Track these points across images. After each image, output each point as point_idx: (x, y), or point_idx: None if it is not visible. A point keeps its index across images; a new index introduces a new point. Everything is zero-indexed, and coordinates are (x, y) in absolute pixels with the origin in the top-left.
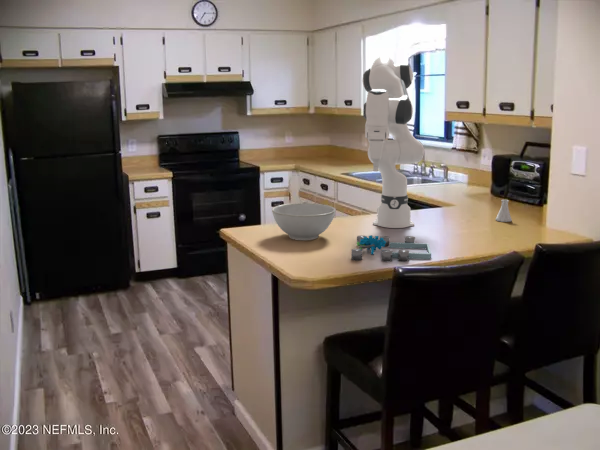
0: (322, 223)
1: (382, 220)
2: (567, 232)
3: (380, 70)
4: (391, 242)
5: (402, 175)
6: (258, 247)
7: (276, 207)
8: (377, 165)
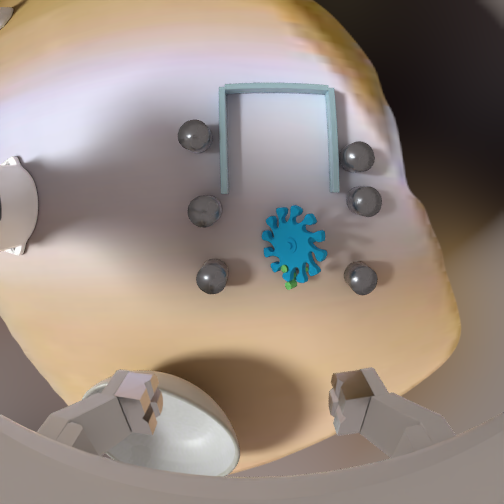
0: (204, 395)
1: (21, 233)
2: None
3: None
4: (223, 188)
5: None
6: (275, 449)
7: None
8: (404, 406)
